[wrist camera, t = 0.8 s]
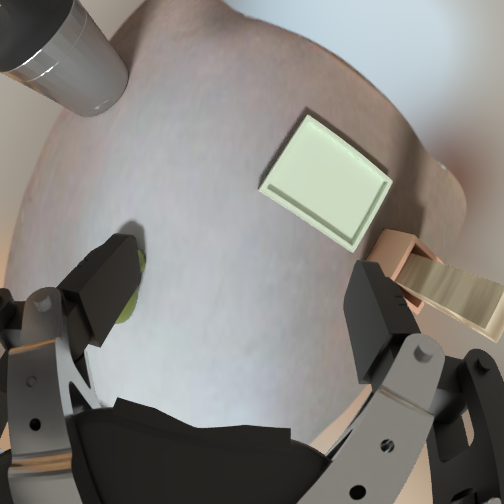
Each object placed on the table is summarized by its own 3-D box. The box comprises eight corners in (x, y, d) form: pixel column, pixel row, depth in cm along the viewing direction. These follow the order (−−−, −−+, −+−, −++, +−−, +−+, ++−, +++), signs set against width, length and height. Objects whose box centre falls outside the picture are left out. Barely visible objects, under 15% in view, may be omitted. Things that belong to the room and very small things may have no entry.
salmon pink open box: (356, 274, 36) (383, 290, 29) (384, 228, 35) (414, 234, 28) (390, 297, 37) (417, 314, 30) (415, 255, 36) (445, 265, 30)
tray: (257, 190, 32) (259, 189, 31) (303, 118, 31) (307, 114, 30) (348, 250, 35) (353, 252, 33) (386, 181, 34) (392, 181, 32)
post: (374, 271, 35) (484, 329, 16) (389, 246, 35) (505, 286, 15) (392, 284, 36) (496, 343, 16) (406, 260, 35) (516, 304, 16)
